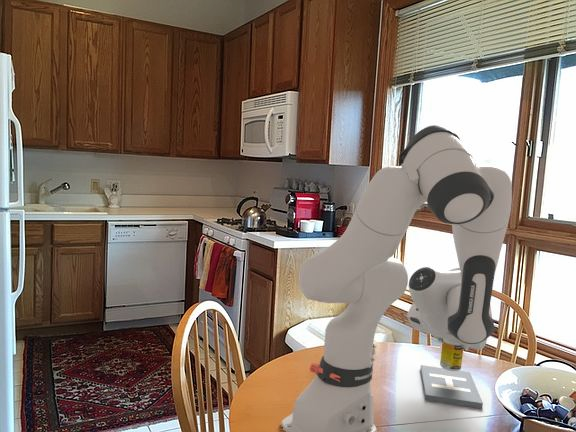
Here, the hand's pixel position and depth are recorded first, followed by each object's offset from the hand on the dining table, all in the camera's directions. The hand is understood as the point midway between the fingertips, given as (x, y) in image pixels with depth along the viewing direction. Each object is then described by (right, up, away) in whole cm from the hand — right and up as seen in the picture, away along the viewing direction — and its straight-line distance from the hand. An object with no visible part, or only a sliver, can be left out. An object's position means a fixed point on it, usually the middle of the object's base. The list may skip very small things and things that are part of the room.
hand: (453, 344), depth 133 cm
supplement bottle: (-1, -7, 0) cm, 7 cm away
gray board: (-1, -12, +1) cm, 12 cm away
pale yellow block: (-22, -10, +19) cm, 31 cm away
